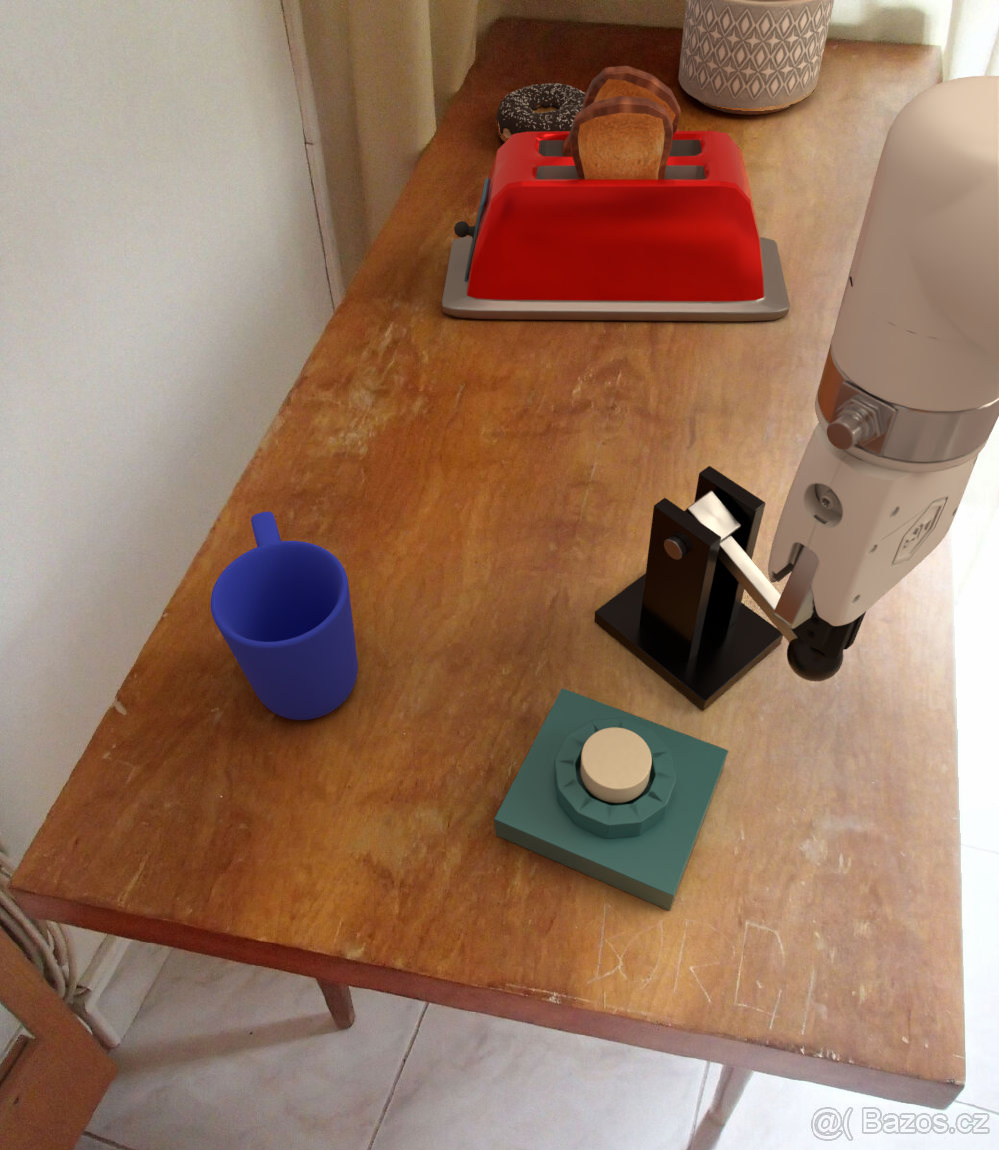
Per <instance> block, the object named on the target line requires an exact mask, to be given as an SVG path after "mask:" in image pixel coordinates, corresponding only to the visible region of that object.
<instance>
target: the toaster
mask: <svg viewBox="0 0 999 1150" xmlns="http://www.w3.org/2000/svg"><path fill="white" fill-rule="evenodd" d="M681 114H682V111H681V107H680V104H679V103H678V101H677V99H676V97H675V95H674V92H673V91H672V89H671V88H670V87H669V86H667V85H666V84H665V83H663V82H662V81H661V80H660V79H658V78H657V77H656V76H654V75H653V74H652V73H649V72H647V71H644V70H640V69H637V68H634V67H632V66H629V65H619V66H608V67H605V68H604V69H603V70H601V72H600V73H598V74H597V75H596V76H594V77H593V79H592V80H591V81H590V83H589V86H588V88H587V90H586V92H585V97H584V101H583V105H582V109H581V111H580V112H579V113H577V114H576V115H575V118H574V121H573V124H572V127H571V130H570V131H544V132H522V133H516V134H513V135H512V136H511V137H510V138H509V139H508V140H507V141H506V142H504V143H503V144H502V145H501V146H500V147H499V148H498V149H497V150H496V154H495V156H494V159H493V162H492V165H491V168H490V171H489V174H488V177H485V179H484V183H483V187H482V191H481V195H480V201H479V205H478V210H477V213H476V214H477V215H476V220H475V224H474V225H473V226H472V225H469V224H468V222H466V221H464V220H460V221H457V222H456V223H455V225H454V228H453V231H454V233H455V235H456V236H457V237H458V238H454V239H453V240H452V242H451V245H450V252H449V257H448V263H447V270H446V274H445V275H446V276H445V281H444V287H443V292H442V299H441V307H442V308H441V309H442V312H443V313H444V314H446V315H449V316H451V317H454V318H459V319H460V318H461V319H477V320H534V321H535V320H541V321H542V320H546V321H550V320H551V321H556V320H557V321H652V322H653V321H658V322H659V321H660V322H661V321H662V322H663V321H664V322H665V321H666V322H668V321H671V322H673V321H674V322H758V321H774V320H777V319H781V318H784V317H786V316H787V315H788V314H789V312H790V306H791V305H790V300H789V296H788V291H787V286H786V281H785V276H784V272H783V266H782V262H781V257H780V252H779V247H778V243H777V242H776V240H775V239H771V238H767V237H762V236H760V232H759V227H758V221H757V216H756V210H755V206H754V200H753V196H752V195H753V194H752V189H751V184H750V180H749V176H748V172H747V168H746V167H747V166H746V164H745V163H746V162H745V159H744V155H743V151H742V149H741V148H740V146H739V145H738V144H737V143H736V141H734V140H733V139H732V137H730V135H729V134H728V133H727V132H722V131H716V130H678V127H679V122H680V118H681Z"/></svg>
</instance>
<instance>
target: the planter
mask: <svg viewBox="0 0 999 1150" xmlns="http://www.w3.org/2000/svg"><path fill="white" fill-rule="evenodd" d="M834 4H835V0H686V1H685V8H684V9H685V10H684V18H683V30H682V38H681V39H682V40H681V48H680V59H679V68H678V77H677V78H678V82H679V83H678V84H679V85H680V87H681V89H683V90H684V92H685V93H687V94H688V95H689V96H691V97H692V98H693V99H696V100H697V101H698V102H699V103H701V104H703V106H706V107H708V108H709V109H713V110H716V111H719V112H723V113H729V114H733V115H746V116H747V115H749V116H752V115H766V114H771V113H776V112H780V111H783V110H785V109H787V108H789V107H790V106H787V107H784V108H779V109H773V110H764V111H742V110H732V109H726V108H721V106H722V107H729V108H739V109H740V108H744V109H745V108H748V109H750V108H753V109H754V108H760V107H767V106H768V107H769V106H776V105H781V104H785V103H788V102H792V101H794V100H797V99H799V98H801V97H803V96H805V95H806V94H808V93H810V92H812V91H813V90H814V89H815V87H816V88H817V86H816V85H818V82H819V81H818V80H819V76H820V72H821V67H822V61H823V57H824V53H825V46H826V42H827V38H828V33H829V28H830V23H831V18H832V14H833V9H834ZM815 90H816V89H815ZM815 90H814V91H815ZM704 102H705V103H704ZM713 105H714V106H713ZM717 106H720V107H717Z"/></svg>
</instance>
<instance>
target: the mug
mask: <svg viewBox="0 0 999 1150" xmlns="http://www.w3.org/2000/svg"><path fill="white" fill-rule="evenodd" d="M250 523H251V527H252V528H251V529H252V530H253V531H252V532H253V535H254V540H255V543H256V547H254V548H252V549H250V550H248V551H246V552H244V553H242V554H241V555H239V556H238V557H237V558H235V559H234V560H233V561H231V562H230V563H229V564H228V565H227V566H226V568H224V569H223V571H221V573H220V575H219V576H218V577H217V579H216V582H214V585H213V587H212V591H211V595H210V612H211V616H212V619H213V621H214V623H215V625H216V627H217V628H218V630H219V632H220V634H221V635H222V637H223V639H224V641H225V643H226V645H227V646H228V648H229V649H230V651H231V653H232V655H233V656H234V658H235V660H236V662H237V664H238V665H239V667H240V669H241V670H242V672H243V674H244V676H245V677H246V679H247V681H248V682H249V684H250V686H251V688H252V690H253V691H254V694H255V695H256V697H257V698H258V699H259V701H260V702H261V703H262V704H263V705H264V706H265V707H266V709H268V710H269V711H270V712H272V713H274V714H275V715H278V716H280V717H281V718H285V719H289V720H295V721H308V720H314V719H318V718H321V717H323V716H327V715H328V714H329V713H332V712H333V711H335V710H336V709H338V708H340V706H341V705H342V704H343V703H344V702H345V701H346V700H347V699H348V698H349V696H350V694H351V693H352V691H353V689H354V687H355V684H356V682H357V677H358V670H359V664H358V663H359V662H358V661H359V660H358V652H357V646H356V645H357V644H356V636H355V627H354V620H353V611H352V603H351V602H352V601H351V595H350V585H349V579H348V575H347V572H346V570H345V567H344V566H343V564H342V562H340V560H339V558H337V556H336V555H334V554H333V552H331V551H329V550H328V549H326V548H324V547H322V546H319V545H318V544H316V543H315V544H314V543H311V542H307V541H300V540H281V539H282V538H281V536H280V531H279V528H278V525H277V521H276V518H275V515H274V513H273V512H272V511H262V512H258V513H255V514H254V515H252V516H251V518H250Z"/></svg>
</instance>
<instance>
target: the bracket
mask: <svg viewBox="0 0 999 1150" xmlns="http://www.w3.org/2000/svg"><path fill="white" fill-rule="evenodd" d="M709 491H713V493H714V494H715V495H716V496H717V497H718V498H719V500H720V501H721V502H722V503H723V504H724V506H725V507H726V508H727V509H728V510H729V511H730V513H731V514H732V515H733V516H734V517H735V519H736V520H737V521H738V522H739V523H740V524H741V526H740V527H739V528H738V529H737V530H736V531H735V532H734V533H732V534H731V536H732V537H733V538H734V540H735V541H736V542H737V543H738V544H739V546H740V547H741V548H742V549H743V550H744V552H745V553H746V554H747V555H748V556H749V557H750V559H751V560H752V561H753V556H754V552H755V549H756V544H757V540H758V536H759V532H760V528H761V523H762V520H763V517H764V511H765V507H766V502H765V501H764V500H762V499H761V498H759V497H758V496H756V495H755V494H754V493H752V492H750V491H748V490H747V489H746V488H744V486H741V485H740V484H738V483H737V482H735V481H734V480H732V479H731V478H729V477H727V476H726V475H724V474H723V473H722V472H720V471H718V470H717V469H716V468H714V467H712V466H711V465H708V466H706V467H705V468H704V469H703V470H702V471H700V472H699V473H698V478H697V484H696V489H695V495H694V502H696V501H697V500H699V499H700V498H701V497H703V496H704V495H705V494H707V493H708V492H709ZM694 502H693V503H694ZM651 517H652V519H651V527H650V534H649V542H648V551H647V559H646V568H645V573H644V574H642V575H641V576H639V577H638V578H637V579H636V580H634V581H633V582H631V583H630V584H629V585H628V586H627V587H625V588H624V589H623V590H621V591H620V592H619V593H617V594H616V595H615V596H613V597H612V598H611V599H609V600H608V601H607V602H605V603H604V604H603V605H601V606H600V607H599V608H597V609H596V610H594V619H593V622H594V623H595V624H597V626H599V628H600V629H602V630H603V631H604V632H606V633H607V634H608V635H610V636H611V637H612V638H613V639H614V640H616V641H617V642H618V643H619V644H620V645H622V646H623V647H624V648H625V649H626V650H628V651H629V653H631V654H633V655H634V656H635V657H636V658H638V659H639V660H640V661H641V662H642V663H643V664H644V665H646V666H647V667H648V668H649V669H650V670H652V671H653V672H654V673H656V674H657V675H658V676H659V677H660V678H661V679H663V680H664V681H665V682H666V683H668V684H669V685H670V686H671V687H672V688H674V689H675V690H676V691H677V692H678V693H679V694H681V695H682V696H684V697H685V698H686V699H687V700H688V701H689V702H691V704H693V705H694V706H695V707H697V708H698V709H699V710H700V711H701V712H704V711H705V710H706V709H707V708H709V707H710V706H711V705H712V704H713V703H714V702H716V701H717V700H718V699H719V698H720V697H721V696H723V695H724V694H725V693H726V692H727V691H728V690H730V689H731V688H732V687H733V686H734V685H736V683H738V682H739V681H740V680H741V679H742V678H744V676H746V674H748V673H749V672H750V671H752V670H753V669H754V668H755V667H756V666H757V665H758V664H759V663H760V662H762V661H763V660H764V659H765V658H766V657H768V656H769V655H770V654H771V653H772V652H773V651H775V649H777V648H778V647H779V646H780V645H781V644H782V641H783V638H784V636H783V635H782V633H781V632H780V631H779V630H778V629H777V627H776V626H775V625H774V624H773V623H772V624H771V623H770V622H769V621H768V620H766V619H765V618H763V617H762V616H761V615H760V614H758V613H757V612H756V611H754V610H752V609H751V608H750V607H749V606H748V605H746V604H744V603H743V602H742V601H743V597H744V593H745V589H744V588H743V587H742V585H741V584H740V583H739V582H738V581H737V579H736V578H735V577H734V576H733V575H732V574H731V572H730V571H729V570H728V569H727V568H726V566H725V565H724V564H723V563H722V562H721V560H720V559H719V558H718V557H717V556H718V551H719V546H720V541H721V536H719V535H718V534H716V533H715V532H713V531H712V530H711V529H709V528H708V527H706V526H705V525H703V524H702V523H701V522H699V521H698V520H696V519H695V518H693V517H692V516H691V515H689V514H688V513H686V512H685V510H683V509H682V508H681V507H679V506H678V505H676V504H675V503H673V502H672V501H671V500H670V499H668V498H666V497H664V498H662V499H661V500H659V501H658V502H656V503H655V504H654V505H653V509H652V516H651Z"/></svg>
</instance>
